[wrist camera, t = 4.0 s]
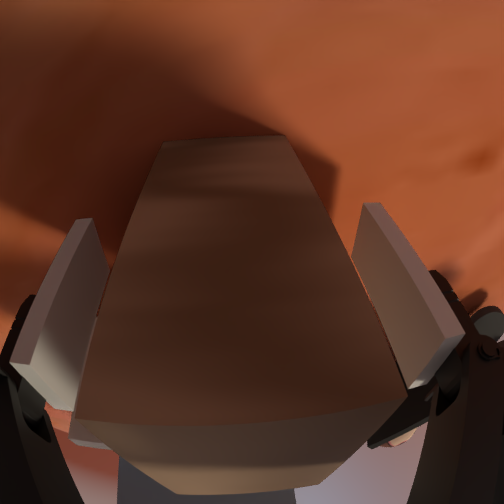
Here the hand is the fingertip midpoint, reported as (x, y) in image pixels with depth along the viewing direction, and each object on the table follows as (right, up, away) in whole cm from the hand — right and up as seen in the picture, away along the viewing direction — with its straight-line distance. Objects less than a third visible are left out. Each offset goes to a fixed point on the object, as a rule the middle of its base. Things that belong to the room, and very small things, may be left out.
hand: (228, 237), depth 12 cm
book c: (0, +1, +1) cm, 1 cm away
